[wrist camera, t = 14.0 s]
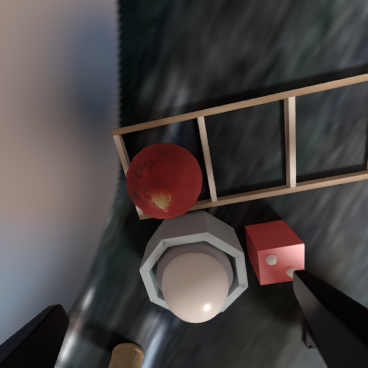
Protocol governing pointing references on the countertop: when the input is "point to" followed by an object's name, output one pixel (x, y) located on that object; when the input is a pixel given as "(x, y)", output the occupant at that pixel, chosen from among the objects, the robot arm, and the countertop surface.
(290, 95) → the wooden frame with crossbars
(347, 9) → the countertop surface
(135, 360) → the sprinkles bottle
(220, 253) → the dome
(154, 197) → the onion
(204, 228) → the dome base
